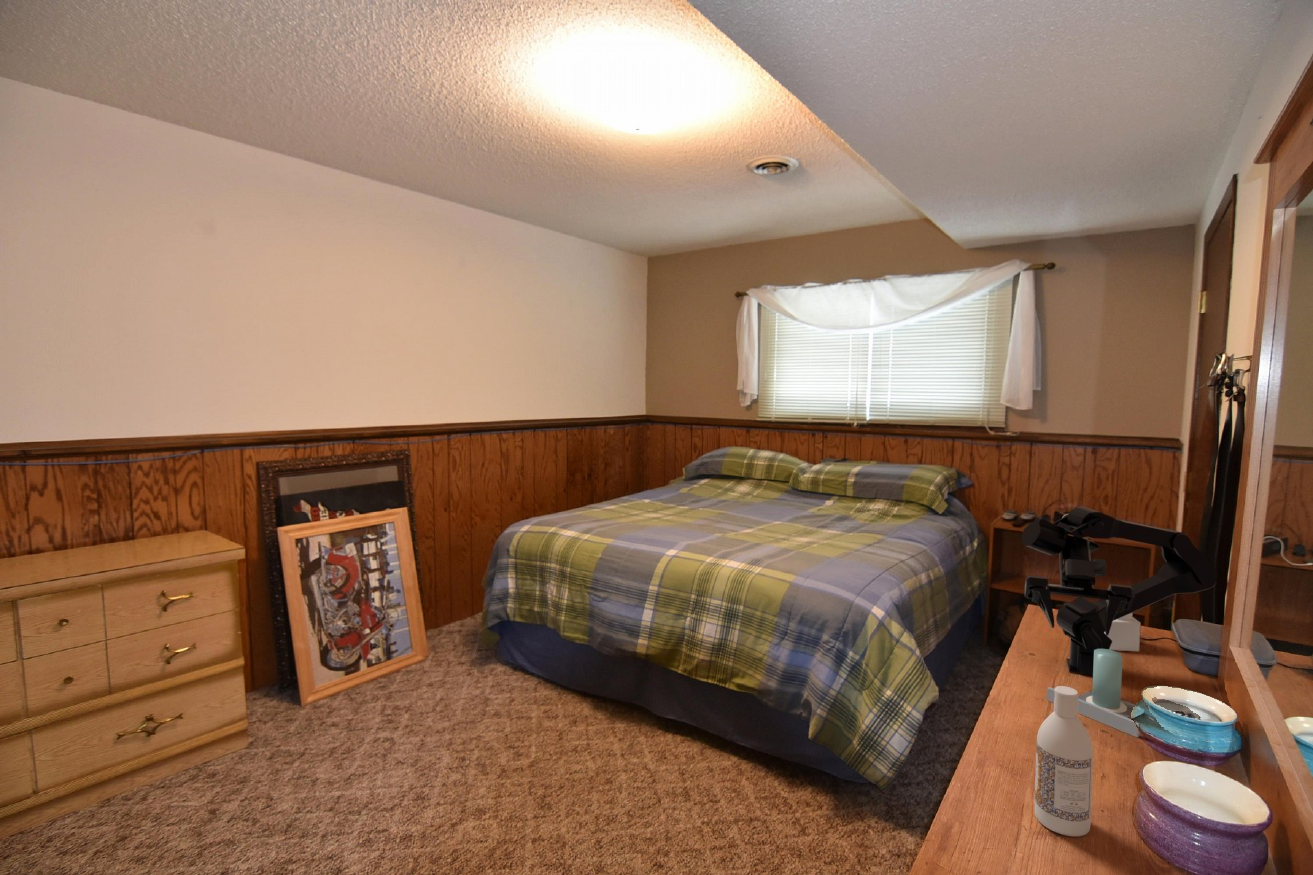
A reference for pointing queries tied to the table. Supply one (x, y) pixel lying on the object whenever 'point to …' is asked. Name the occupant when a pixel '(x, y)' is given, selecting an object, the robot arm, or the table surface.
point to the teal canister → (1107, 678)
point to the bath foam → (1064, 768)
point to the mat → (1123, 710)
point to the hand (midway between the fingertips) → (1079, 630)
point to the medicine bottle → (1125, 634)
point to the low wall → (1102, 715)
